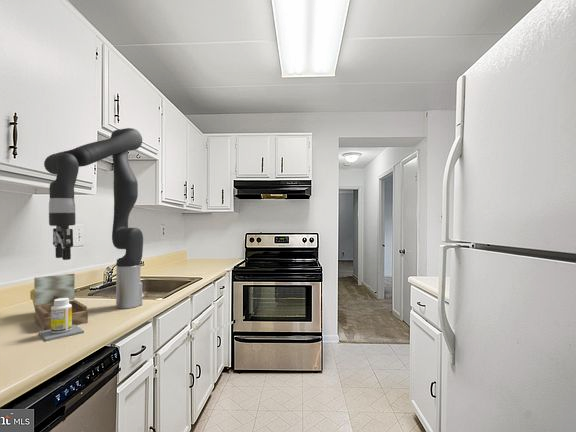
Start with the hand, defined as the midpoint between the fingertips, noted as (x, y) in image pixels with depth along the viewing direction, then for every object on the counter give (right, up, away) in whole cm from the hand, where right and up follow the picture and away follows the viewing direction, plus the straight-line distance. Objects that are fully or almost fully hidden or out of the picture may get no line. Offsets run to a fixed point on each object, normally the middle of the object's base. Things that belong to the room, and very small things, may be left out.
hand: (62, 258), depth 112 cm
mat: (+5, -23, -8) cm, 25 cm away
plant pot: (-17, -24, +15) cm, 33 cm away
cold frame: (-4, -23, +5) cm, 24 cm away
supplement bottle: (+5, -23, -8) cm, 24 cm away
